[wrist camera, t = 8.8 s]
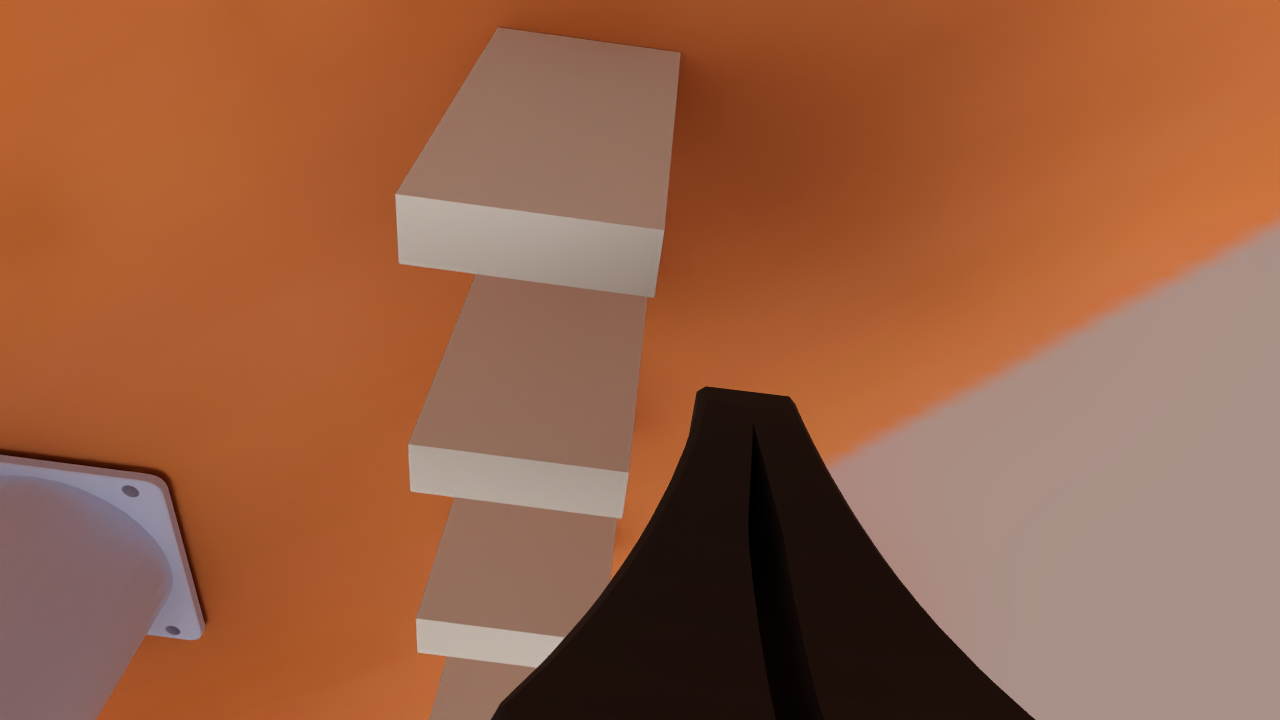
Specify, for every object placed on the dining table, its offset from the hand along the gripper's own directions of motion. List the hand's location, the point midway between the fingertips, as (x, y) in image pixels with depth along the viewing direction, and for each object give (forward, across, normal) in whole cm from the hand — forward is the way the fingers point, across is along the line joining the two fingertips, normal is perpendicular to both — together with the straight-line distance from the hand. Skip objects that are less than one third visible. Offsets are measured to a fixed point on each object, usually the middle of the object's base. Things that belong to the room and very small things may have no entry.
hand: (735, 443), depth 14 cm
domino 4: (+10, +3, -2) cm, 11 cm away
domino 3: (+10, +4, +3) cm, 11 cm away
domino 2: (+10, +4, +8) cm, 13 cm away
